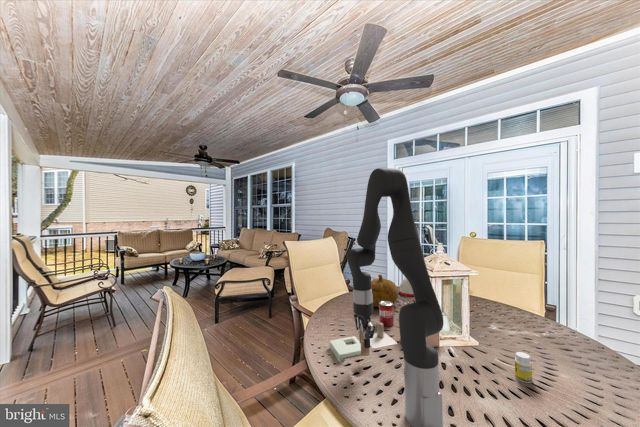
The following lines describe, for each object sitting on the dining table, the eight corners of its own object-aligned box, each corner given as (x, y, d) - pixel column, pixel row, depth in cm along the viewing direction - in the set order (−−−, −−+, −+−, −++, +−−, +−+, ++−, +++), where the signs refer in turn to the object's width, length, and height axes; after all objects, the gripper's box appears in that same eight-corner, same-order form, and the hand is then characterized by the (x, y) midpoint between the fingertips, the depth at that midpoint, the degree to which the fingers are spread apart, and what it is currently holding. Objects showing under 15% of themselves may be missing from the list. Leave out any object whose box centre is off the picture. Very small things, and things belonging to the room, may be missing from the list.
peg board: (367, 356, 107) (366, 349, 107) (339, 362, 103) (339, 354, 103) (354, 342, 118) (354, 336, 118) (329, 347, 115) (329, 340, 115)
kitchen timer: (399, 295, 180) (398, 274, 179) (399, 289, 193) (399, 269, 193) (420, 297, 175) (420, 275, 175) (419, 290, 188) (419, 270, 188)
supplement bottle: (515, 372, 93) (514, 349, 93) (532, 378, 90) (531, 353, 90) (514, 379, 89) (514, 355, 89) (532, 385, 86) (531, 360, 86)
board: (398, 346, 113) (397, 329, 113) (373, 352, 110) (372, 334, 110) (383, 334, 125) (383, 319, 125) (360, 339, 121) (360, 323, 121)
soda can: (394, 330, 129) (393, 306, 129) (379, 329, 130) (378, 305, 130) (393, 323, 136) (392, 301, 136) (379, 323, 137) (378, 300, 137)
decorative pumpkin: (403, 300, 167) (400, 270, 165) (393, 315, 149) (390, 281, 148) (373, 297, 177) (370, 268, 176) (361, 310, 160) (357, 278, 159)
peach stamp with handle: (439, 348, 110) (438, 314, 110) (417, 353, 107) (416, 318, 107) (422, 337, 121) (421, 305, 121) (401, 341, 118) (400, 309, 118)
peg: (371, 354, 98) (369, 328, 98) (363, 356, 97) (362, 329, 97) (367, 350, 101) (365, 325, 101) (359, 352, 100) (358, 326, 100)
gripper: (346, 296, 105) (348, 339, 105) (362, 307, 92) (364, 356, 91) (363, 294, 107) (365, 336, 107) (381, 304, 94) (383, 352, 94)
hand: (364, 345), depth 99 cm, fingers closed on peg, 3 cm apart
